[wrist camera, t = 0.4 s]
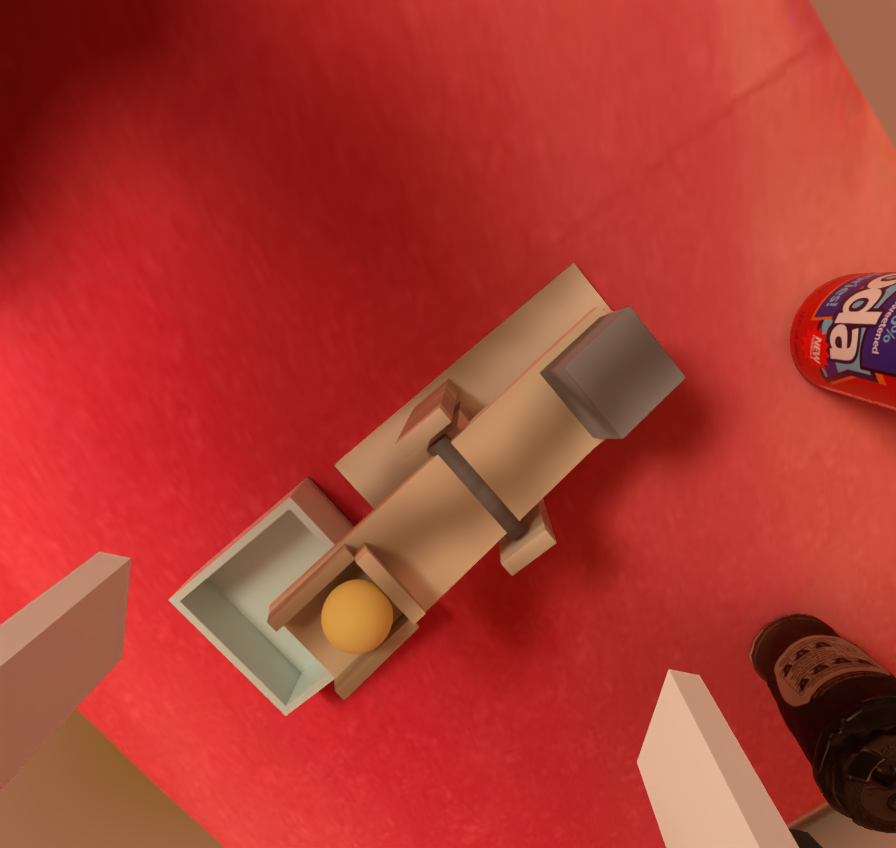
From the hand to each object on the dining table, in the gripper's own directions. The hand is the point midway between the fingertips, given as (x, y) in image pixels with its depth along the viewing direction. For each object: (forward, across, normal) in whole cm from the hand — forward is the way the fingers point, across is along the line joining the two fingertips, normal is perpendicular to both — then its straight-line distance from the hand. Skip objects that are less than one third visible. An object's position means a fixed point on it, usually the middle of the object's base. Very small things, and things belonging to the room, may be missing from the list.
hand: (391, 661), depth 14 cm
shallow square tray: (+30, -8, -16) cm, 35 cm away
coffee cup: (+29, +30, -13) cm, 44 cm away
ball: (+14, -2, -8) cm, 17 cm away
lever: (+20, +3, -2) cm, 20 cm away
